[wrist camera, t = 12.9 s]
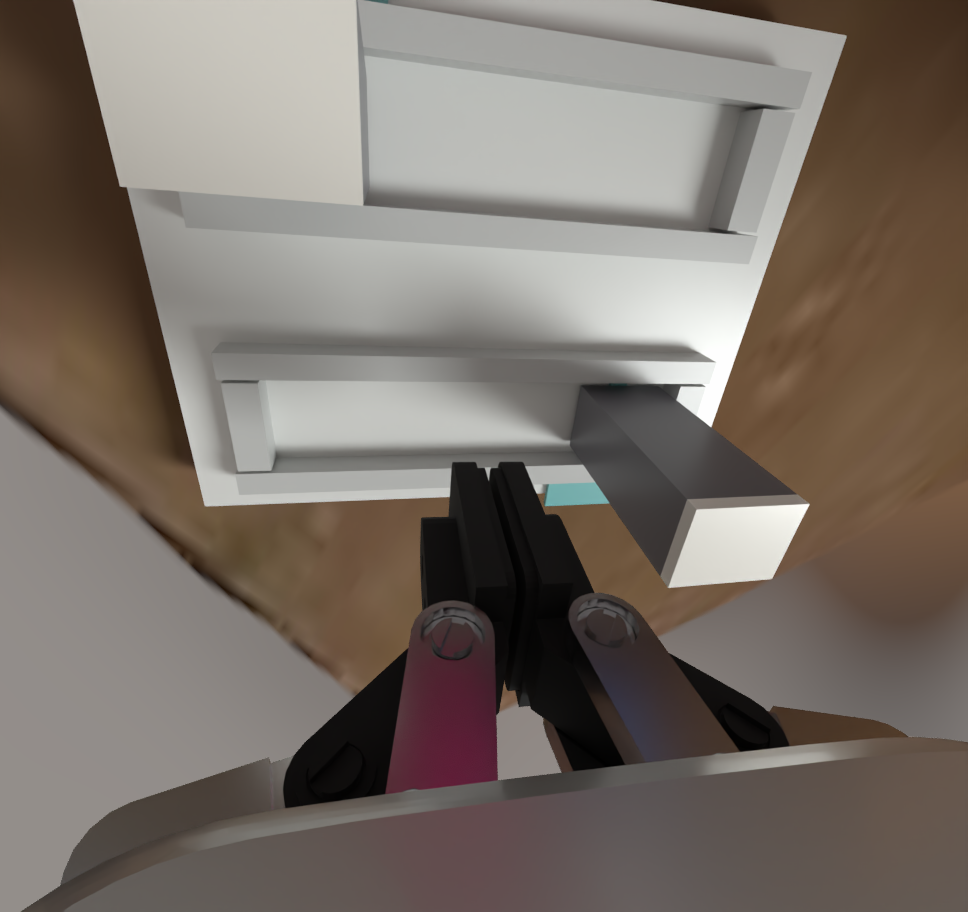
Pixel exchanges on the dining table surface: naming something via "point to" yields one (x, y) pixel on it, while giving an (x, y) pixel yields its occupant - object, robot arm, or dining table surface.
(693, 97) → the switch board
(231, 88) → the tab
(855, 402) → the dining table surface
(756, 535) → the tab
